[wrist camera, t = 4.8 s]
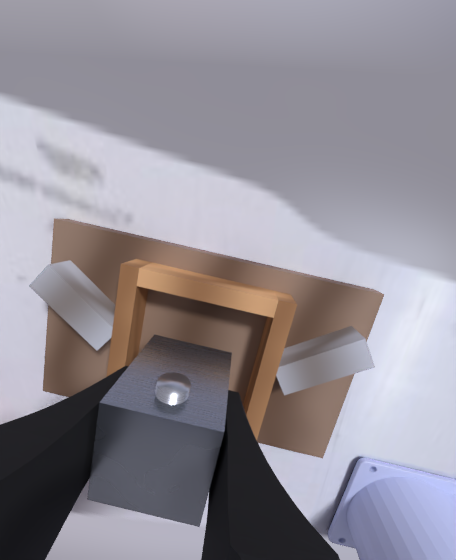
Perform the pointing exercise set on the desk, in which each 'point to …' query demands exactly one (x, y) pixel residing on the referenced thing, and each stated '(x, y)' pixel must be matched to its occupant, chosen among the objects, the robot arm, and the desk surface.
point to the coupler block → (162, 431)
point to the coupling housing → (207, 325)
